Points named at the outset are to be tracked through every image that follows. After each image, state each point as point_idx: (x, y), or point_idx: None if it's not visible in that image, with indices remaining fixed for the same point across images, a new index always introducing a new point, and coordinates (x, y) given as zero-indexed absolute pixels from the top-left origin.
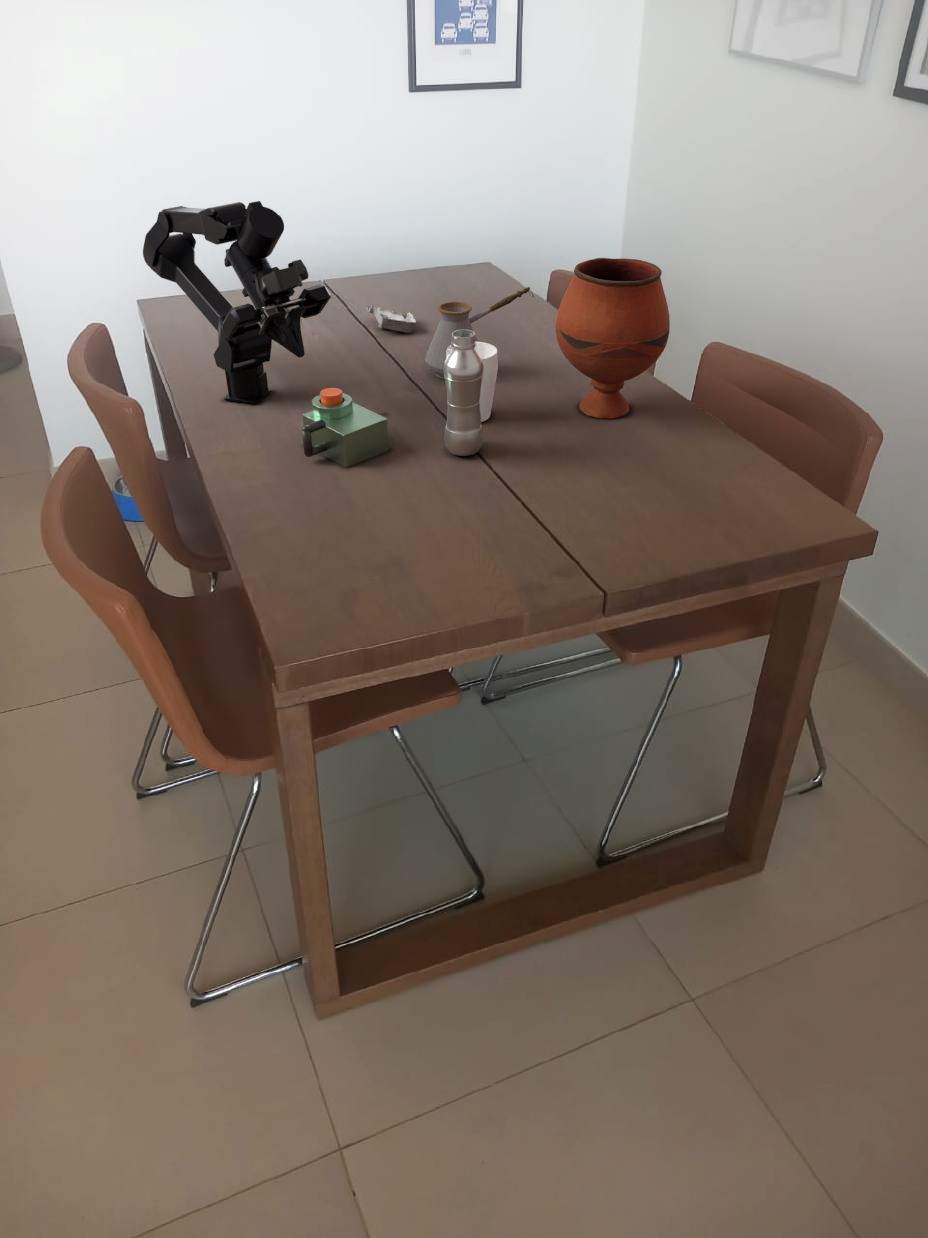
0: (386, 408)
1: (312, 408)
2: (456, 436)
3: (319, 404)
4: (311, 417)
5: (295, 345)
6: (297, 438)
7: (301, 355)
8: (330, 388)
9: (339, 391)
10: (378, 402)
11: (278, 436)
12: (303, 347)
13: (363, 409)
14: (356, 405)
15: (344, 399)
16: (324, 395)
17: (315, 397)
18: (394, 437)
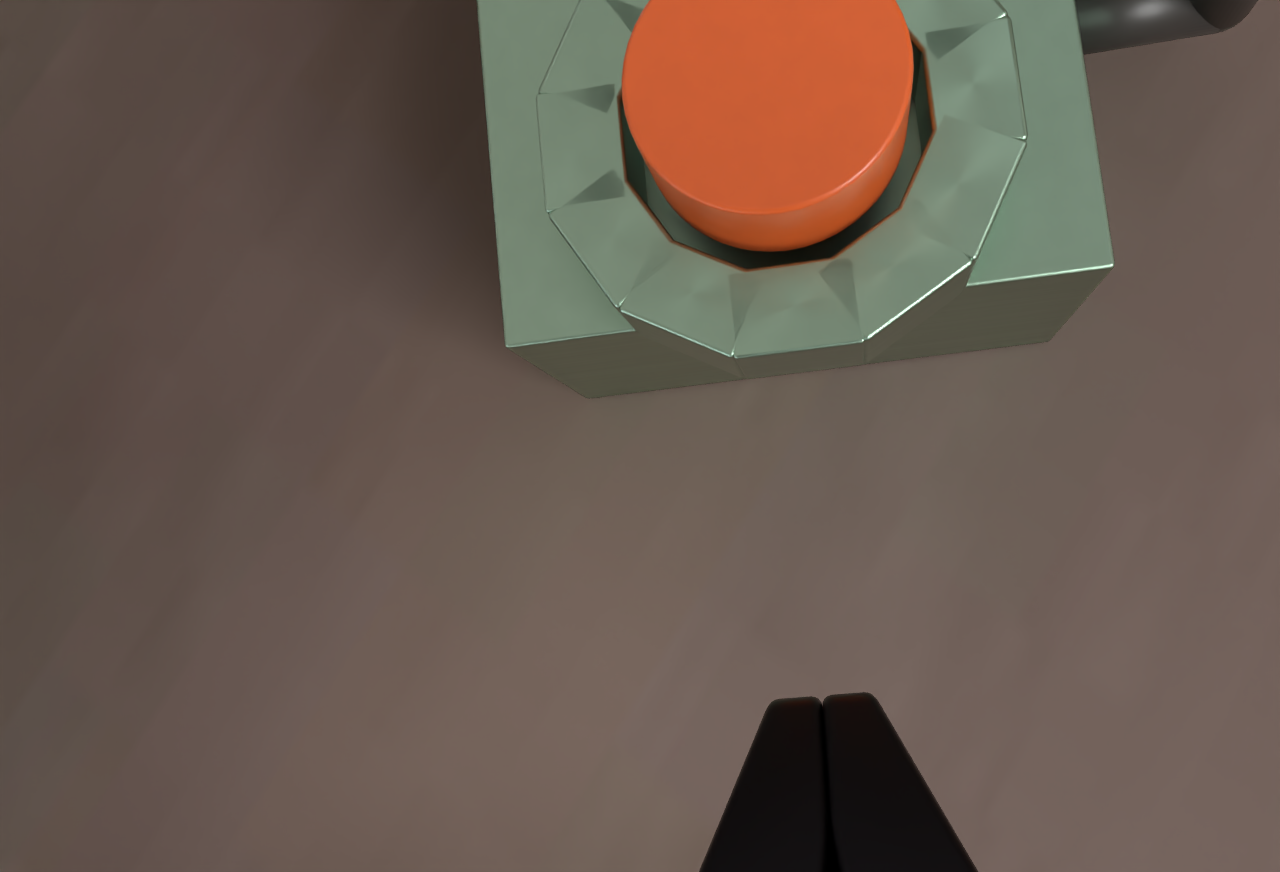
0: (112, 572)
1: (977, 260)
2: None
3: (961, 88)
4: (1072, 129)
5: (930, 856)
6: (1034, 522)
7: (855, 697)
8: (710, 178)
9: (668, 29)
10: (90, 720)
11: (1165, 670)
12: (740, 792)
13: (510, 4)
14: (511, 130)
15: None
16: (899, 13)
17: (892, 304)
18: (376, 66)
